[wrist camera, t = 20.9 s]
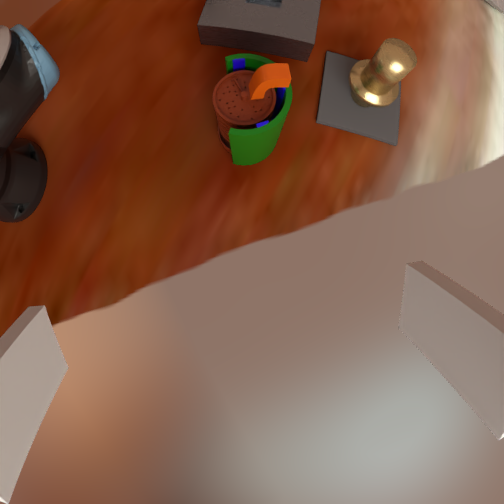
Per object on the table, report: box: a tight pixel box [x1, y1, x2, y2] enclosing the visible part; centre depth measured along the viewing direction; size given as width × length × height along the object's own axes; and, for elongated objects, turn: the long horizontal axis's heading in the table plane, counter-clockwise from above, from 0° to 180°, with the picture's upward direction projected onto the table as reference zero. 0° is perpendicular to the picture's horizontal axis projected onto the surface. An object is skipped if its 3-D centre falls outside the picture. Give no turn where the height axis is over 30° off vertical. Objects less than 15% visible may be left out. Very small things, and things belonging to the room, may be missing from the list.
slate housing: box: [197, 0, 321, 62], centre depth 43 cm, size 18×18×6 cm
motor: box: [213, 54, 292, 165], centre depth 37 cm, size 10×9×20 cm
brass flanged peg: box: [348, 38, 417, 108], centre depth 39 cm, size 8×8×15 cm
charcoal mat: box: [316, 51, 401, 146], centre depth 47 cm, size 14×14×1 cm
